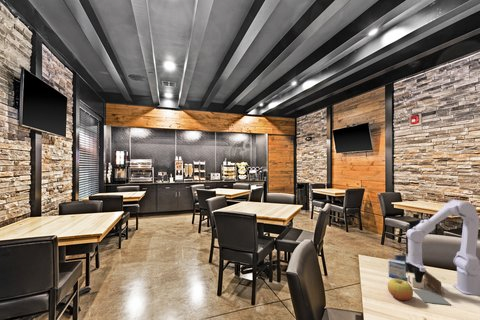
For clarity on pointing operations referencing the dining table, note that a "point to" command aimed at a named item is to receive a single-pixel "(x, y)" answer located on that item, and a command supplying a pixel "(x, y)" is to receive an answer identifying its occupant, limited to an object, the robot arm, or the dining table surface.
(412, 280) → the letter cube
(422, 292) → the slate pad
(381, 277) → the dining table surface
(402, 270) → the medicine box
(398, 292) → the apple
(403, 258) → the flask
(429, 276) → the walnut screen
